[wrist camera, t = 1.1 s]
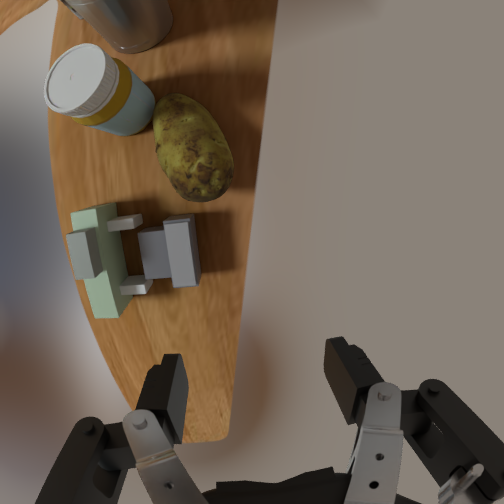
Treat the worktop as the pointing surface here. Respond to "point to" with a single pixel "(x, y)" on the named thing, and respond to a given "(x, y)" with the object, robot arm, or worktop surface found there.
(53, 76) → the bottle
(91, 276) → the green block cluster
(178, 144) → the potato
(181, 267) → the grey stepped block
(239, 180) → the worktop surface
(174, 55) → the worktop surface
